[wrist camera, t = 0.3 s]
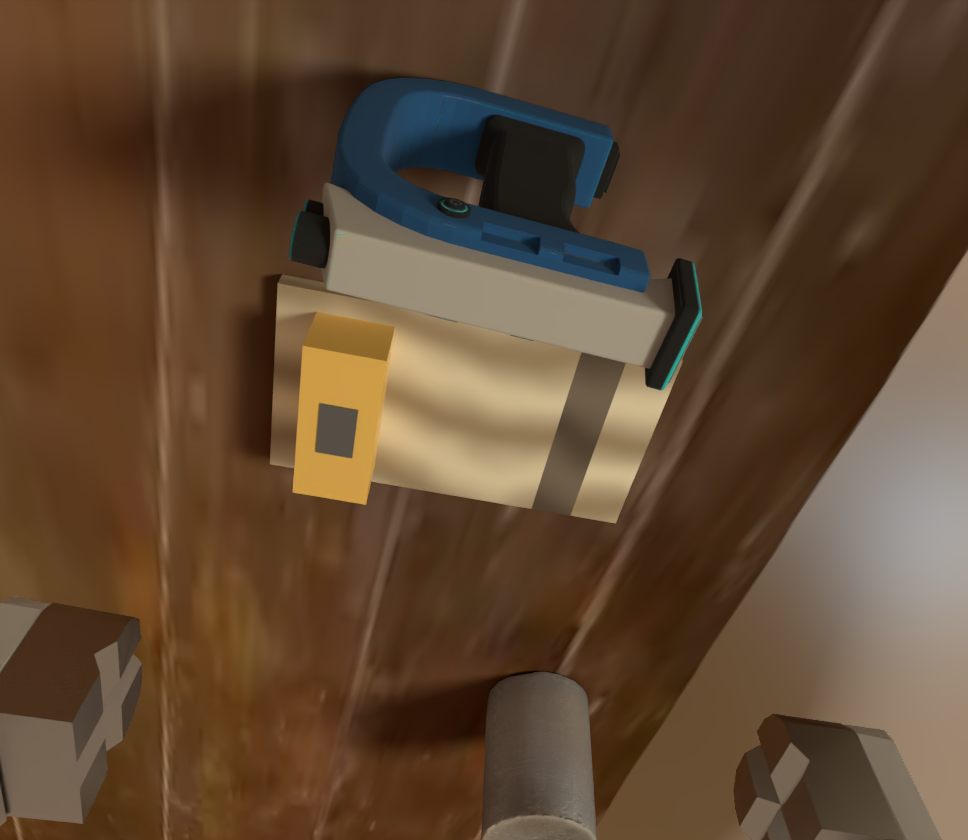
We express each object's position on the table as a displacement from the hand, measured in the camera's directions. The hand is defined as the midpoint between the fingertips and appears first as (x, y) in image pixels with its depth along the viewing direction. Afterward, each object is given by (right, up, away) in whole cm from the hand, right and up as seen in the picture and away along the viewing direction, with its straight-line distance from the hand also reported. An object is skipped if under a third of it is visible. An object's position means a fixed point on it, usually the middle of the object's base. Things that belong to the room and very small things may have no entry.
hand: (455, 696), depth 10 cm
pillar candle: (+5, -23, +67) cm, 71 cm away
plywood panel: (-1, +5, +46) cm, 46 cm away
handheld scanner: (+2, +20, +35) cm, 40 cm away
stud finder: (-9, +5, +44) cm, 45 cm away
